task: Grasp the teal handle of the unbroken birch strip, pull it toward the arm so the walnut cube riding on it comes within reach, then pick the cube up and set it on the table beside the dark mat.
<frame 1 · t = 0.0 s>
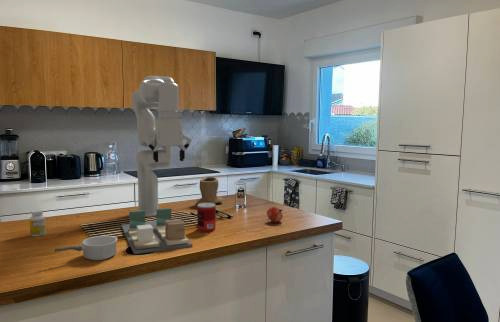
hand: (169, 161, 149), 31 cm above the countertop, tool pointing down, fingers open, 9 cm apart
canned food: (206, 230, 168), on the countertop
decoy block: (145, 239, 145), point 2 cm above the countertop, touching strip b broken
strip b broken: (142, 241, 151), resting on mat
strip a: (170, 225, 155), point 5 cm above the countertop, slide at 0.0 cm, touching cube
saucepan: (87, 259, 133), on the countertop
stone cup: (210, 204, 217), on the countertop
cube: (174, 237, 149), point 2 cm above the countertop, touching strip a
pomegranate: (274, 222, 182), on the countertop
mat: (153, 235, 158), on the countertop
supplement bottle: (38, 234, 158), on the countertop
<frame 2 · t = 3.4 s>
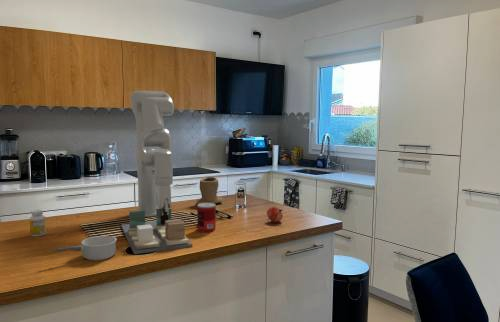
hand: (163, 223, 166), 3 cm above the countertop, tool pointing down, fingers closed on strip a
strip a: (170, 225, 155), point 5 cm above the countertop, slide at 0.0 cm, touching cube, gripper
everything else where it was.
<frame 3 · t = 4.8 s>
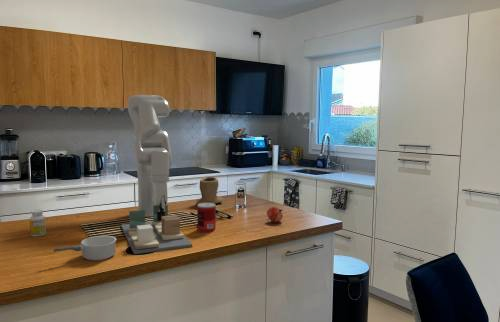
hand: (160, 219, 172), 3 cm above the countertop, tool pointing down, fingers closed on strip a
strip a: (166, 220, 161), point 5 cm above the countertop, slide at 6.6 cm, touching cube, gripper
cube: (170, 232, 155), point 2 cm above the countertop, touching strip a
everything else where it was.
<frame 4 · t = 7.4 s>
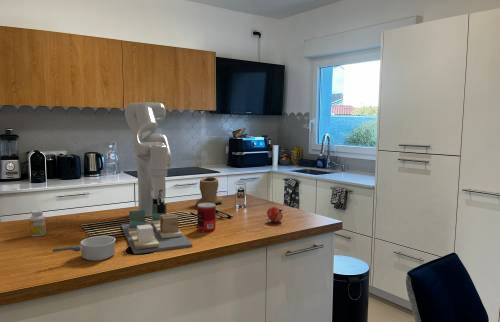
hand: (158, 210, 175), 6 cm above the countertop, tool pointing down, fingers open, 9 cm apart
strip a: (165, 219, 163), point 5 cm above the countertop, slide at 9.2 cm, touching cube
cube: (169, 230, 157), point 2 cm above the countertop, touching strip a
everything else where it was.
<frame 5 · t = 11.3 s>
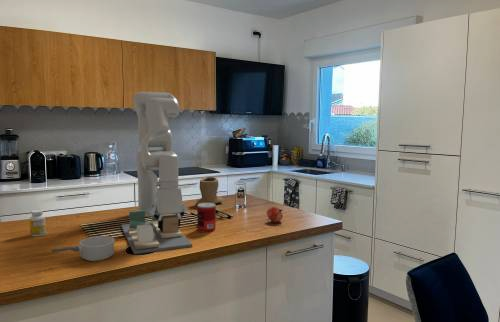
hand: (169, 228, 157), 3 cm above the countertop, tool pointing down, fingers closed on cube, 6 cm apart
cube: (169, 230, 157), point 2 cm above the countertop, touching gripper, strip a
everything else where it was.
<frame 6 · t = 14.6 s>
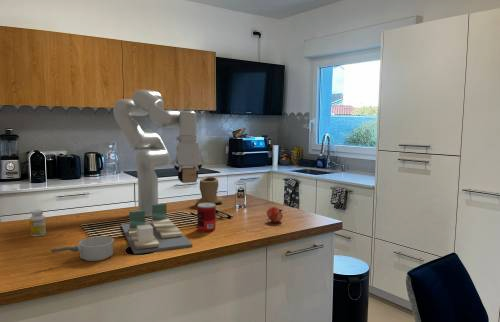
hand: (188, 179, 173), 20 cm above the countertop, tool pointing down, fingers closed on cube, 6 cm apart
strip a: (165, 219, 163), point 5 cm above the countertop, slide at 9.2 cm
cube: (188, 181, 173), point 19 cm above the countertop, touching gripper
when the fingers open (3 cm above the countertop, at t = 18.1 s): cube drops 2 cm, on the countertop.
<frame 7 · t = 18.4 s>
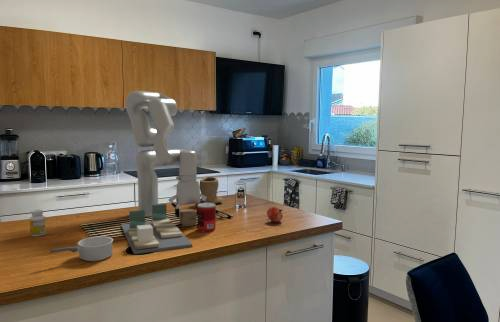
hand: (188, 216, 175), 4 cm above the countertop, tool pointing down, fingers open, 9 cm apart
cube: (188, 224, 176), on the countertop
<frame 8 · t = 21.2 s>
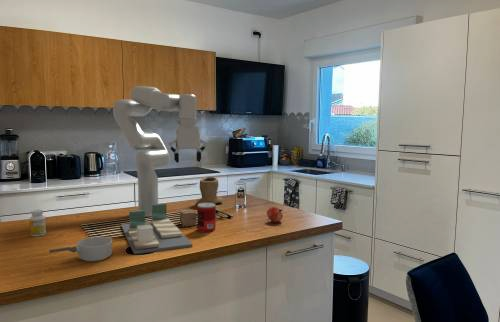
hand: (187, 161, 172), 28 cm above the countertop, tool pointing down, fingers open, 9 cm apart
at the end: strip a slide at 9.2 cm; cube inside the target area (0.0 cm from its centre), on the countertop; the gripper is holding nothing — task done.
